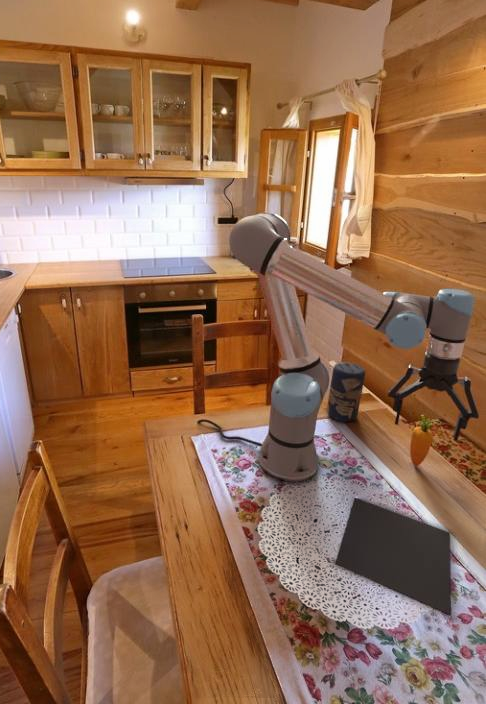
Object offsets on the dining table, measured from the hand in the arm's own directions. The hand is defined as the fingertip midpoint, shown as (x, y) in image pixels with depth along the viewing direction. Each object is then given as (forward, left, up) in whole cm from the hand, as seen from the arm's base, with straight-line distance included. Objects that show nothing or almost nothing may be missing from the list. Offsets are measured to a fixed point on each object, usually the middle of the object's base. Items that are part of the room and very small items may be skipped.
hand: (425, 430), depth 104 cm
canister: (-23, +14, -12) cm, 29 cm away
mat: (-2, -30, -11) cm, 32 cm away
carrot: (0, 0, -12) cm, 12 cm away
